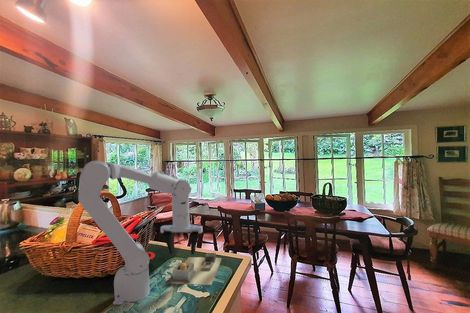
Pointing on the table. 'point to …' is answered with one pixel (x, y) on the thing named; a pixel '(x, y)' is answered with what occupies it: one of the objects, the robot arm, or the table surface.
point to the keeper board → (203, 269)
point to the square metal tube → (183, 272)
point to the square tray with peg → (183, 267)
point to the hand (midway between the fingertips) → (182, 252)
